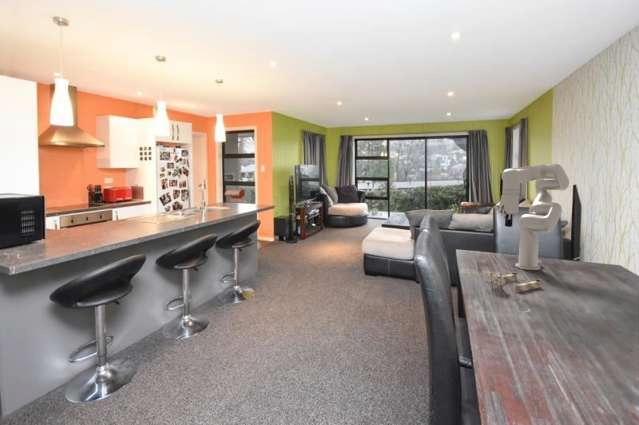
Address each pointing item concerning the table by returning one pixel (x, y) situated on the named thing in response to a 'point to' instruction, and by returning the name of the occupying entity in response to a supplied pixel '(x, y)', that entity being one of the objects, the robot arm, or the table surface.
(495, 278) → the game die
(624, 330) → the table surface
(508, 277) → the parallel beige rails
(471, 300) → the table surface
